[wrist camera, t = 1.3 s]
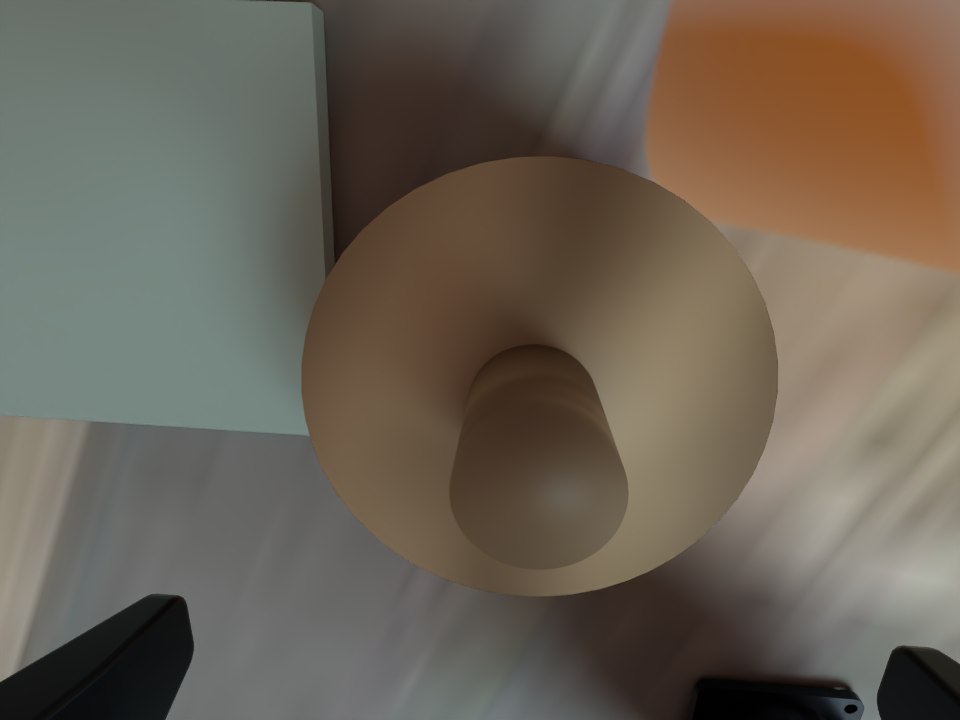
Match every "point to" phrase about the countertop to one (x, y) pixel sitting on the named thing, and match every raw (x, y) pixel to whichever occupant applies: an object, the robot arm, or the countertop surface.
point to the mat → (161, 210)
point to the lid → (539, 376)
